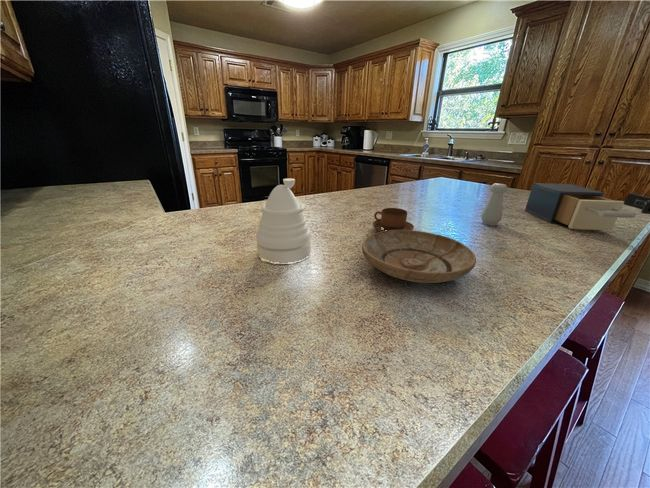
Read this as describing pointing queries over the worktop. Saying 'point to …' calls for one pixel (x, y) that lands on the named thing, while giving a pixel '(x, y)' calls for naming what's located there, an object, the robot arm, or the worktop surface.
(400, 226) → the cup and saucer
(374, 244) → the ceramic bowl
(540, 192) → the cabinet
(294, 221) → the honey pot
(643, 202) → the robot arm
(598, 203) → the drawer
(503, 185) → the salt shaker
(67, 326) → the worktop surface
